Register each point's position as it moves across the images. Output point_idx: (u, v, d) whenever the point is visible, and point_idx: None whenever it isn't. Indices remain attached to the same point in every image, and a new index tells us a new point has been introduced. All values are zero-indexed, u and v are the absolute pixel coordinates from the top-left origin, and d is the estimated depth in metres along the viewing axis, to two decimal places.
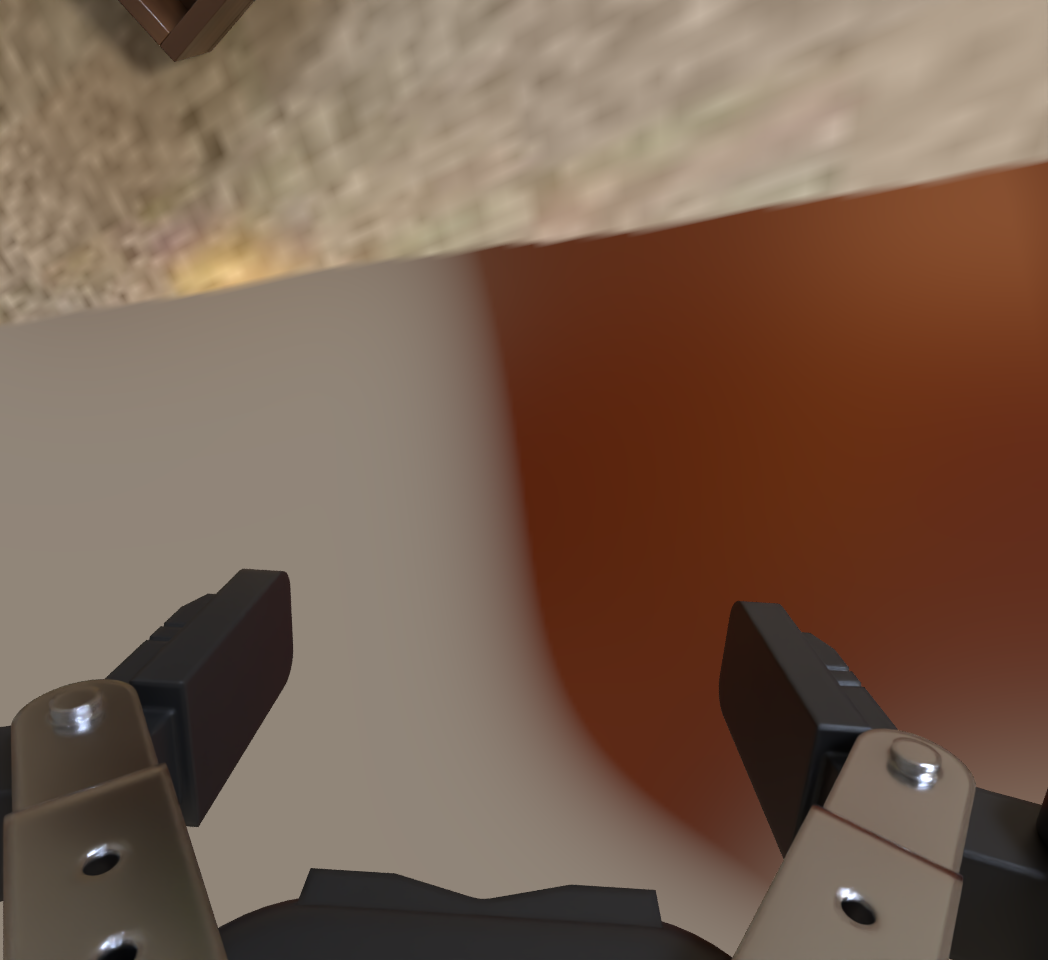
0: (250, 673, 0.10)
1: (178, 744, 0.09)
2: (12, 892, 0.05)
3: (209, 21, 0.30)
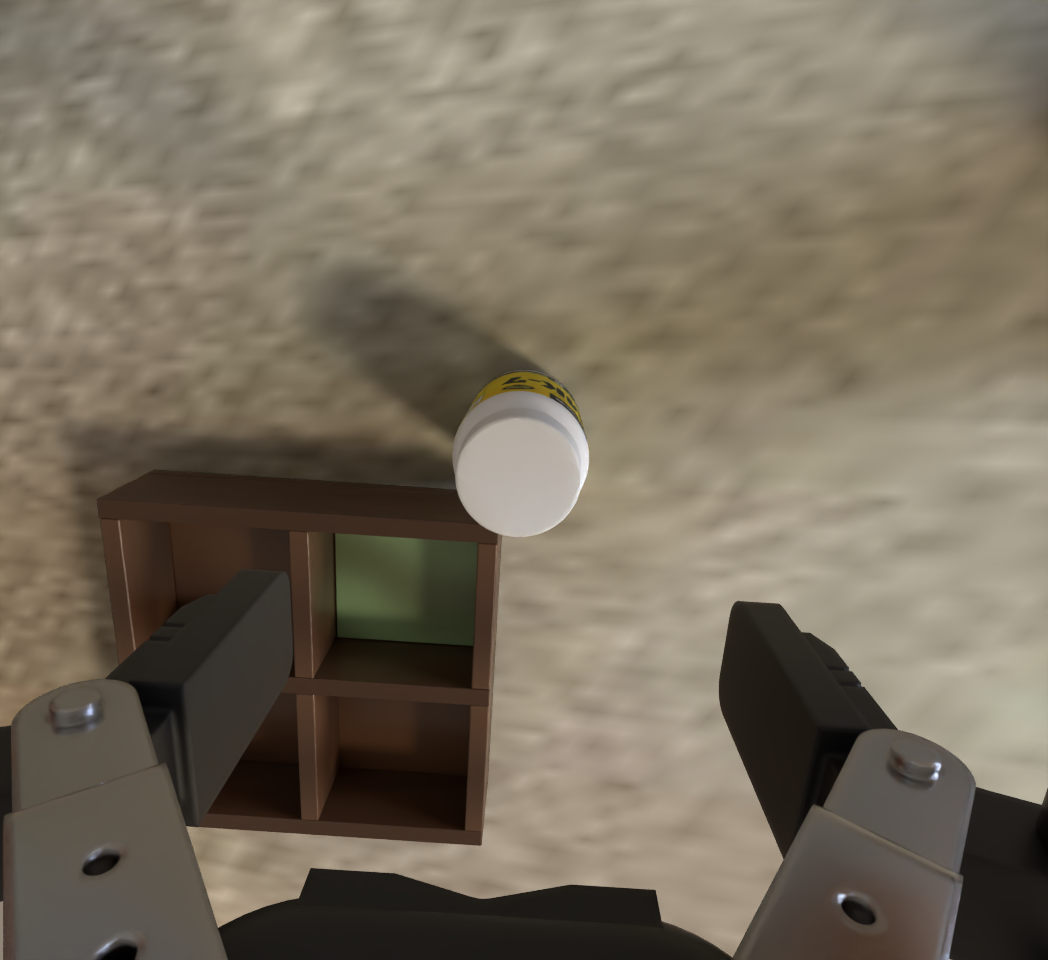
0: (250, 673, 0.10)
1: (178, 744, 0.09)
2: (12, 892, 0.05)
3: None
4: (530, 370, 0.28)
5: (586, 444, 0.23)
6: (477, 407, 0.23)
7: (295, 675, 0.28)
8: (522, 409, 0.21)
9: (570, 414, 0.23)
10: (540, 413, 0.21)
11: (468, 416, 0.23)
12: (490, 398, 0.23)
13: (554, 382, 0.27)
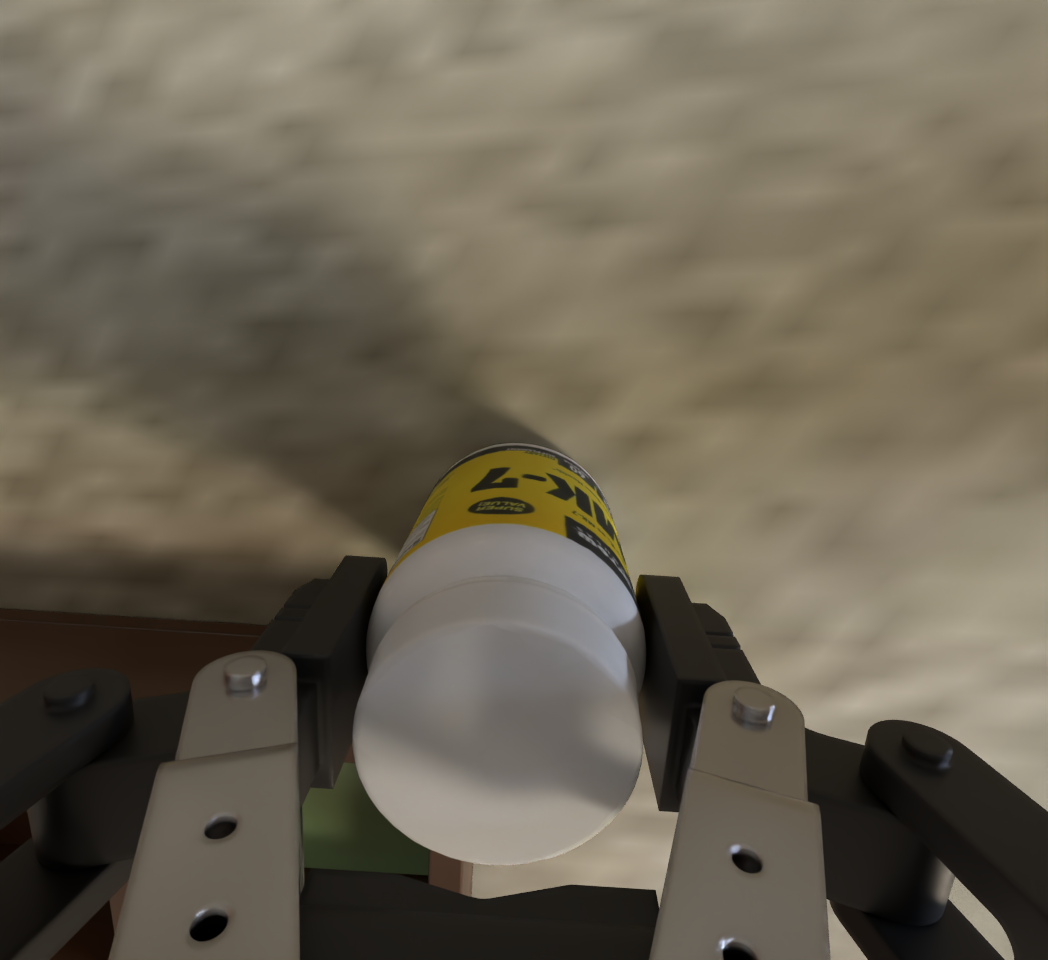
0: (363, 651, 0.11)
1: (320, 712, 0.09)
2: (146, 837, 0.05)
3: None
4: (526, 445, 0.16)
5: (642, 631, 0.11)
6: (414, 559, 0.11)
7: None
8: (507, 586, 0.09)
9: (609, 573, 0.11)
10: (547, 595, 0.09)
11: (395, 577, 0.11)
12: (441, 540, 0.11)
13: (569, 471, 0.15)
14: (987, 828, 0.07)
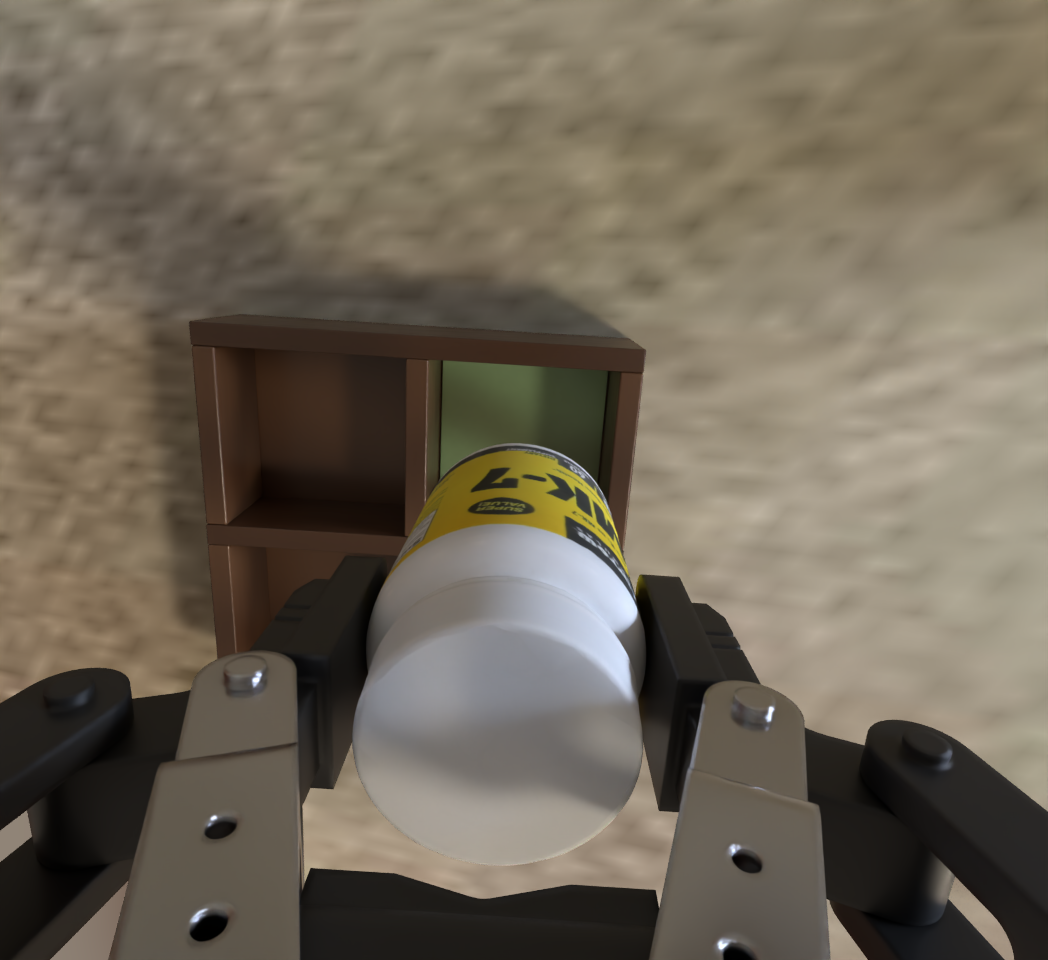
0: (364, 651, 0.11)
1: (321, 712, 0.09)
2: (146, 837, 0.05)
3: None
4: (526, 445, 0.16)
5: (642, 632, 0.11)
6: (414, 559, 0.11)
7: (405, 534, 0.25)
8: (506, 587, 0.09)
9: (609, 573, 0.11)
10: (547, 595, 0.09)
11: (395, 577, 0.11)
12: (441, 540, 0.11)
13: (569, 471, 0.15)
14: (987, 828, 0.07)
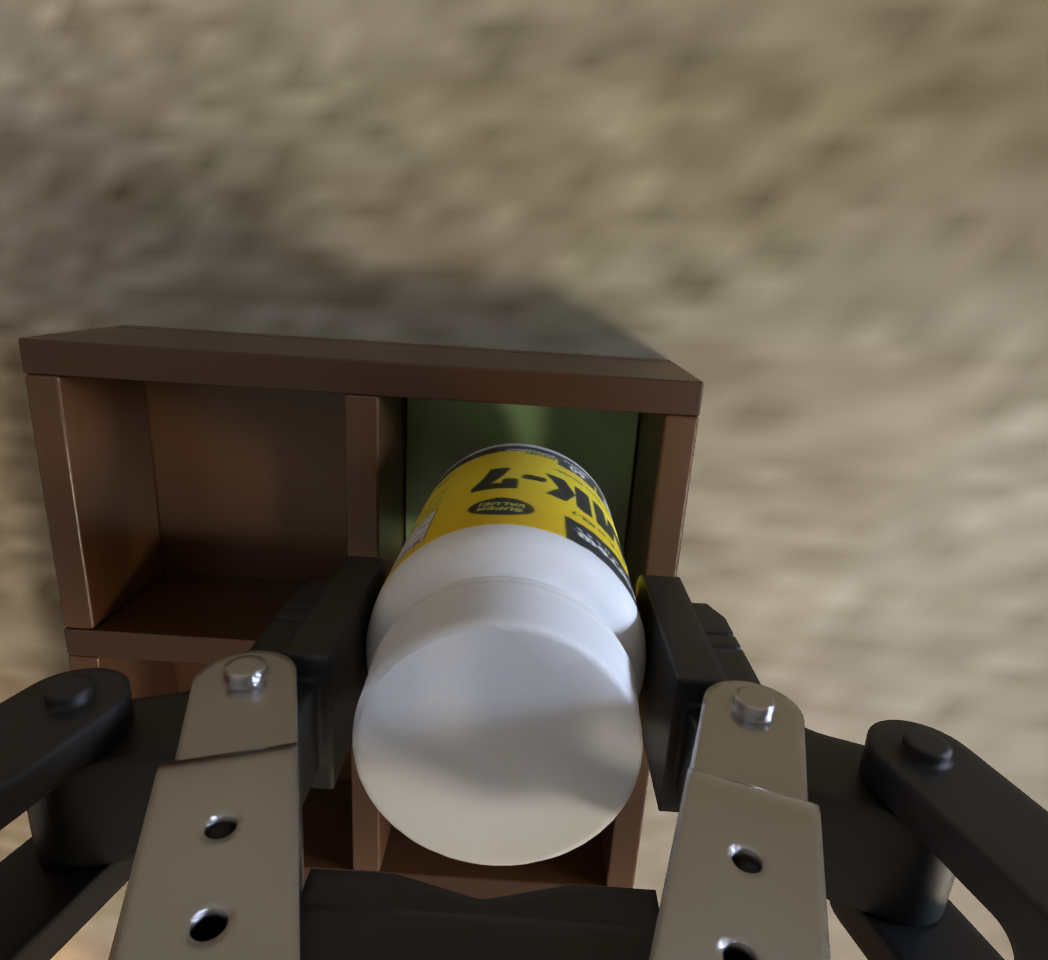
0: (364, 651, 0.11)
1: (321, 712, 0.09)
2: (146, 837, 0.05)
3: None
4: (526, 445, 0.16)
5: (642, 632, 0.11)
6: (414, 559, 0.11)
7: None
8: (506, 587, 0.09)
9: (609, 573, 0.11)
10: (547, 595, 0.09)
11: (395, 578, 0.11)
12: (441, 540, 0.11)
13: (569, 471, 0.15)
14: (987, 828, 0.07)
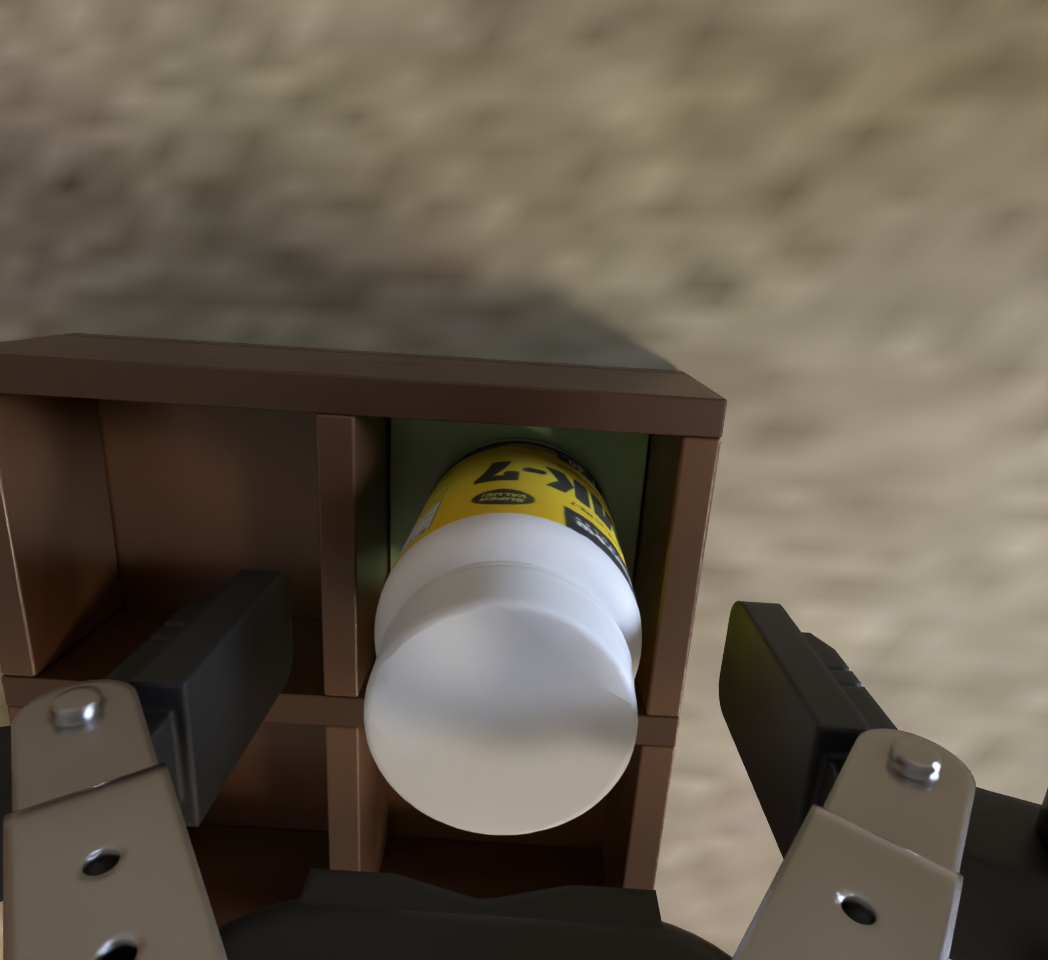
0: (250, 673, 0.10)
1: (178, 744, 0.09)
2: (12, 892, 0.05)
3: None
4: (527, 440, 0.16)
5: (638, 616, 0.12)
6: (420, 547, 0.11)
7: (324, 692, 0.15)
8: (509, 571, 0.10)
9: (607, 560, 0.11)
10: (548, 579, 0.10)
11: (402, 564, 0.11)
12: (446, 528, 0.11)
13: (568, 465, 0.15)
14: None
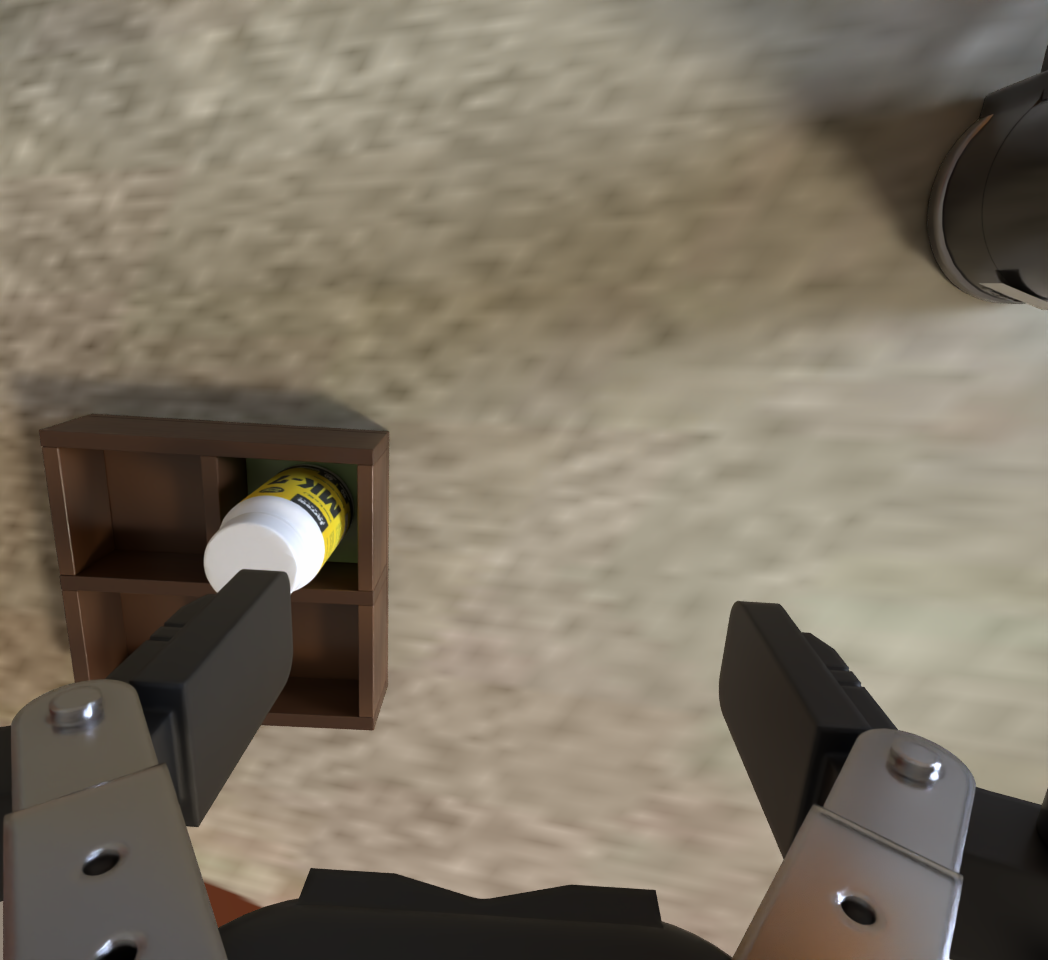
0: (250, 673, 0.10)
1: (178, 744, 0.09)
2: (12, 892, 0.05)
3: None
4: (309, 465, 0.35)
5: (319, 535, 0.30)
6: (233, 508, 0.30)
7: None
8: (256, 514, 0.28)
9: (305, 513, 0.30)
10: (269, 517, 0.28)
11: (226, 515, 0.30)
12: (243, 501, 0.30)
13: (322, 476, 0.34)
14: None
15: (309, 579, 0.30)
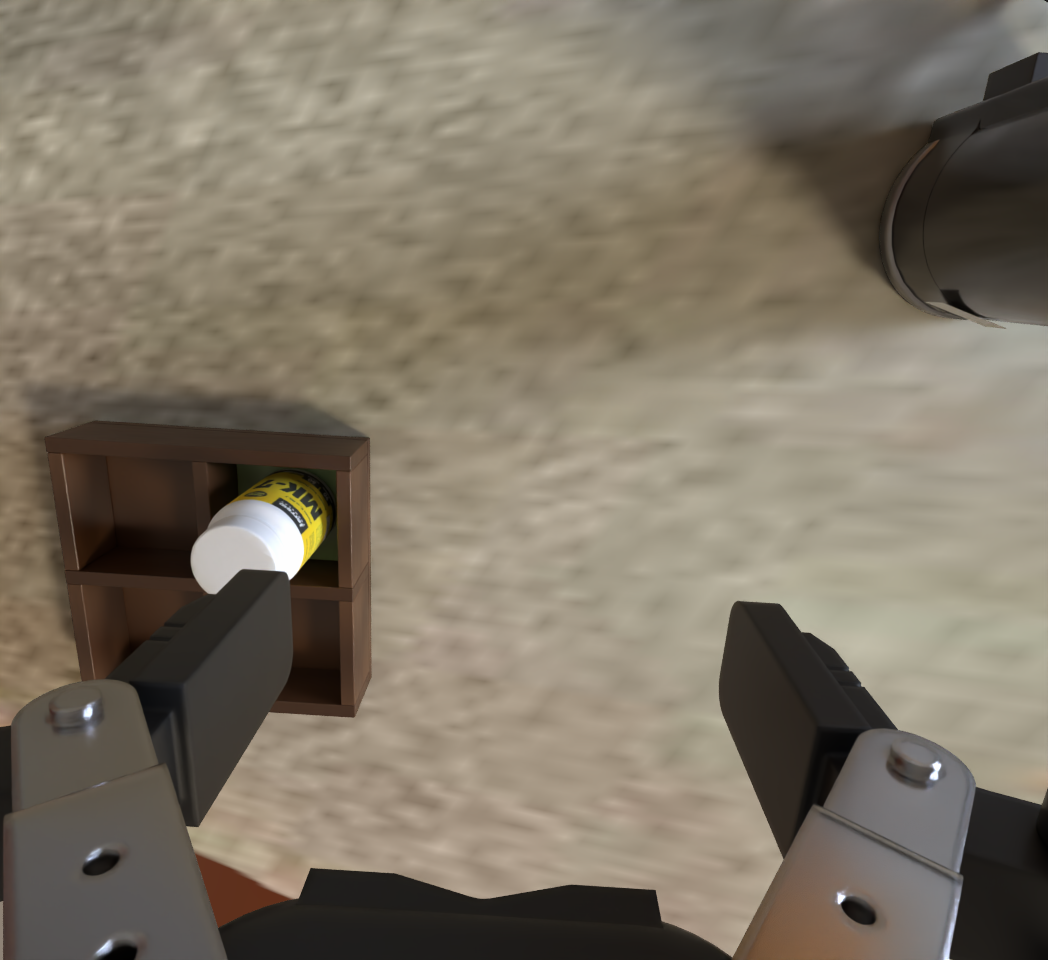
0: (250, 673, 0.10)
1: (178, 744, 0.09)
2: (12, 892, 0.05)
3: None
4: (294, 469, 0.37)
5: (298, 536, 0.32)
6: (219, 511, 0.32)
7: None
8: (238, 517, 0.31)
9: (285, 516, 0.32)
10: (251, 520, 0.31)
11: (213, 517, 0.32)
12: (228, 505, 0.32)
13: (305, 481, 0.36)
14: None
15: (289, 577, 0.33)
